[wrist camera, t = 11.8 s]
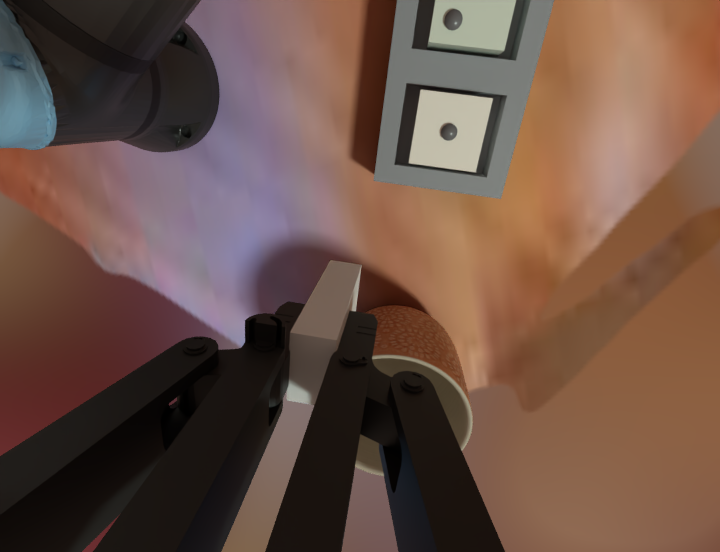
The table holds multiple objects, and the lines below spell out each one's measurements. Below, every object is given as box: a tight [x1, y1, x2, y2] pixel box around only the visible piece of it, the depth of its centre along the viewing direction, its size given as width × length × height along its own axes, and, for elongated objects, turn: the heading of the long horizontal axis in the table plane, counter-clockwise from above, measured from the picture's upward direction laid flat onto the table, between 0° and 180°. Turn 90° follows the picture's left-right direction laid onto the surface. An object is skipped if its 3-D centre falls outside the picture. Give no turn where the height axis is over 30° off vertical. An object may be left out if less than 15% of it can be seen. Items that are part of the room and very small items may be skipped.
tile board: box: [374, 0, 554, 199], centre depth 37 cm, size 14×34×4 cm, turn 173°
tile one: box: [409, 90, 493, 172], centre depth 40 cm, size 7×7×4 cm
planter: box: [355, 305, 473, 476], centre depth 47 cm, size 17×17×15 cm
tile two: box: [427, 0, 516, 57], centre depth 35 cm, size 7×7×4 cm
